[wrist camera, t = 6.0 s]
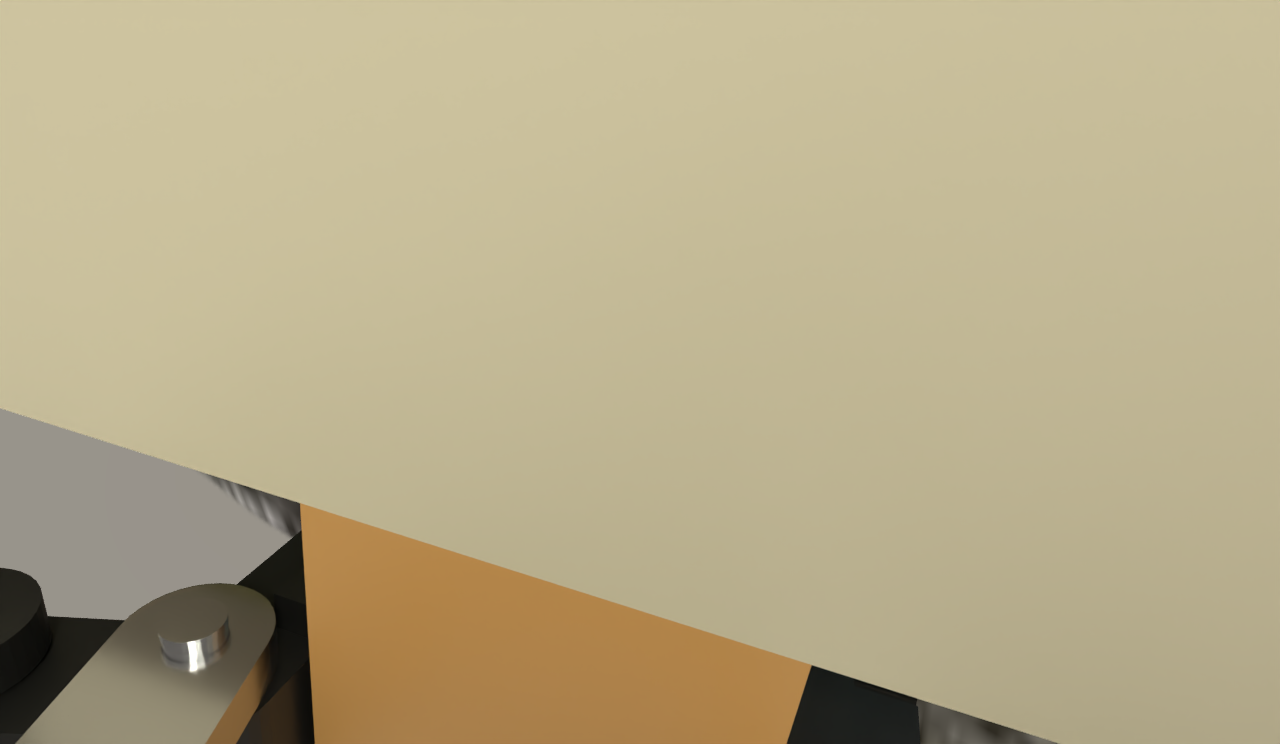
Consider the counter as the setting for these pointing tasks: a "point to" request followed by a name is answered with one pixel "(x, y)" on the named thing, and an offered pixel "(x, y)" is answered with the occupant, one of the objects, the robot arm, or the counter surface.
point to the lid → (688, 344)
